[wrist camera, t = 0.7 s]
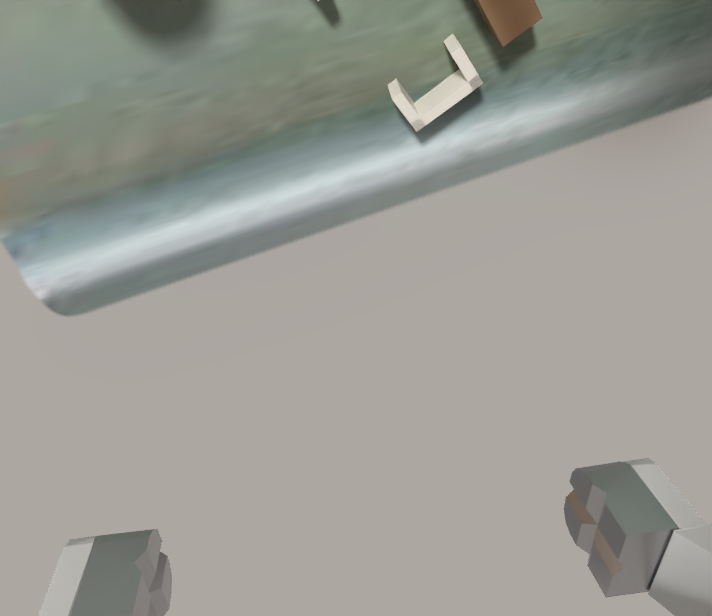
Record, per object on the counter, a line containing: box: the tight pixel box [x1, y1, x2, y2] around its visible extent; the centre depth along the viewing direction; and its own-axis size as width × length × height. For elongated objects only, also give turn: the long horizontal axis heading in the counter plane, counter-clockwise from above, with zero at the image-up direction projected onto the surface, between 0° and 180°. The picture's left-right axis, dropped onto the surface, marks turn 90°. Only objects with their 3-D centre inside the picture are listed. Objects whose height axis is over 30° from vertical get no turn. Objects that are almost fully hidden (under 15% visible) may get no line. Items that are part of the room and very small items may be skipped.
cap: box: [387, 34, 483, 132], centre depth 48 cm, size 7×4×3 cm, turn 128°
